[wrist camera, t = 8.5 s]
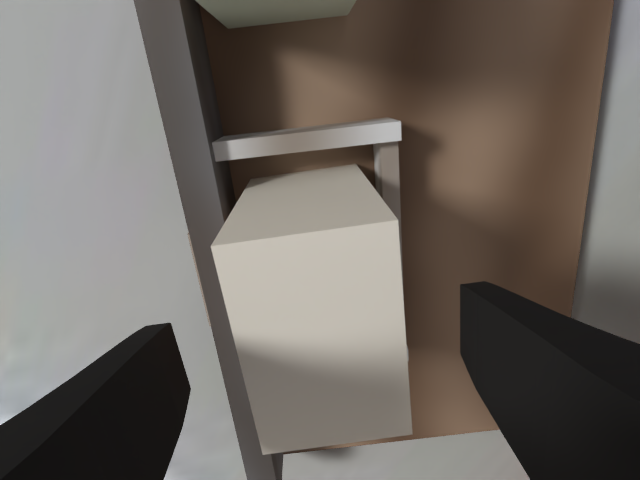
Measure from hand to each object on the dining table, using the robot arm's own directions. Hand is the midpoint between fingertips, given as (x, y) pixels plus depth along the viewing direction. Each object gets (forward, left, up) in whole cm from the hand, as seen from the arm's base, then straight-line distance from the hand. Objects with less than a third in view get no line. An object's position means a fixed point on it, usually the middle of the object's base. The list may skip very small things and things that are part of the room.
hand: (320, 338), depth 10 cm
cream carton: (0, 0, -7) cm, 6 cm away
